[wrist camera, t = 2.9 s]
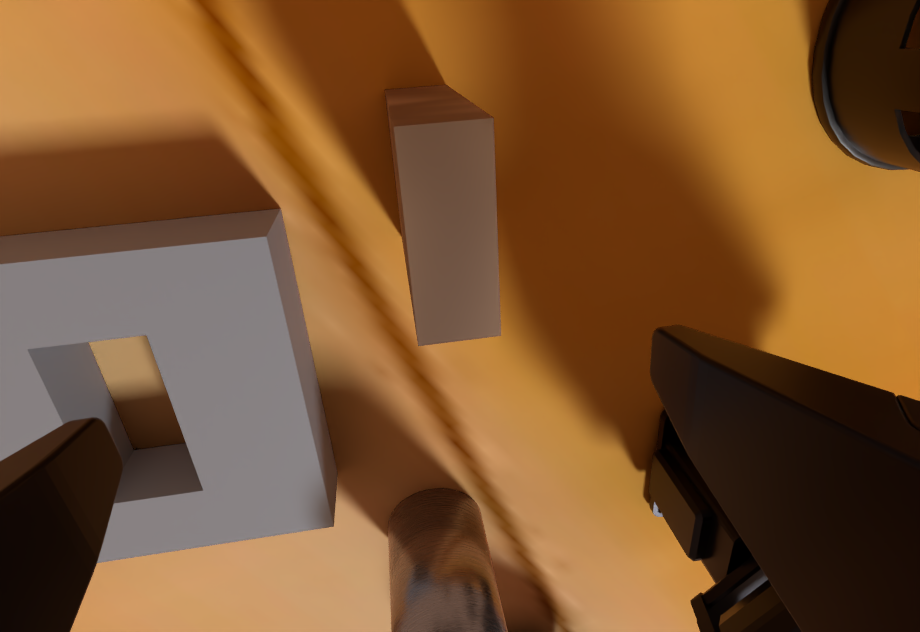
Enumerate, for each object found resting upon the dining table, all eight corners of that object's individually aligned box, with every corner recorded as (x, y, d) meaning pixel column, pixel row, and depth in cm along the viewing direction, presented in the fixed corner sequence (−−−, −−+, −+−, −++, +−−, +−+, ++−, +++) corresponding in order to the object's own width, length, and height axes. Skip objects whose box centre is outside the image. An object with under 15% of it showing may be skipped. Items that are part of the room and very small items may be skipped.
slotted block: (280, 208, 19) (266, 236, 17) (337, 473, 25) (333, 526, 22) (-99, 246, 18) (-179, 282, 15) (49, 515, 24) (9, 576, 21)
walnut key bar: (446, 84, 18) (493, 117, 11) (456, 231, 21) (501, 335, 14) (384, 89, 18) (393, 126, 11) (401, 237, 20) (418, 346, 13)
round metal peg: (478, 481, 26) (519, 648, 19) (483, 549, 28) (520, 721, 21) (382, 496, 26) (386, 671, 19) (393, 563, 28) (401, 744, 21)
